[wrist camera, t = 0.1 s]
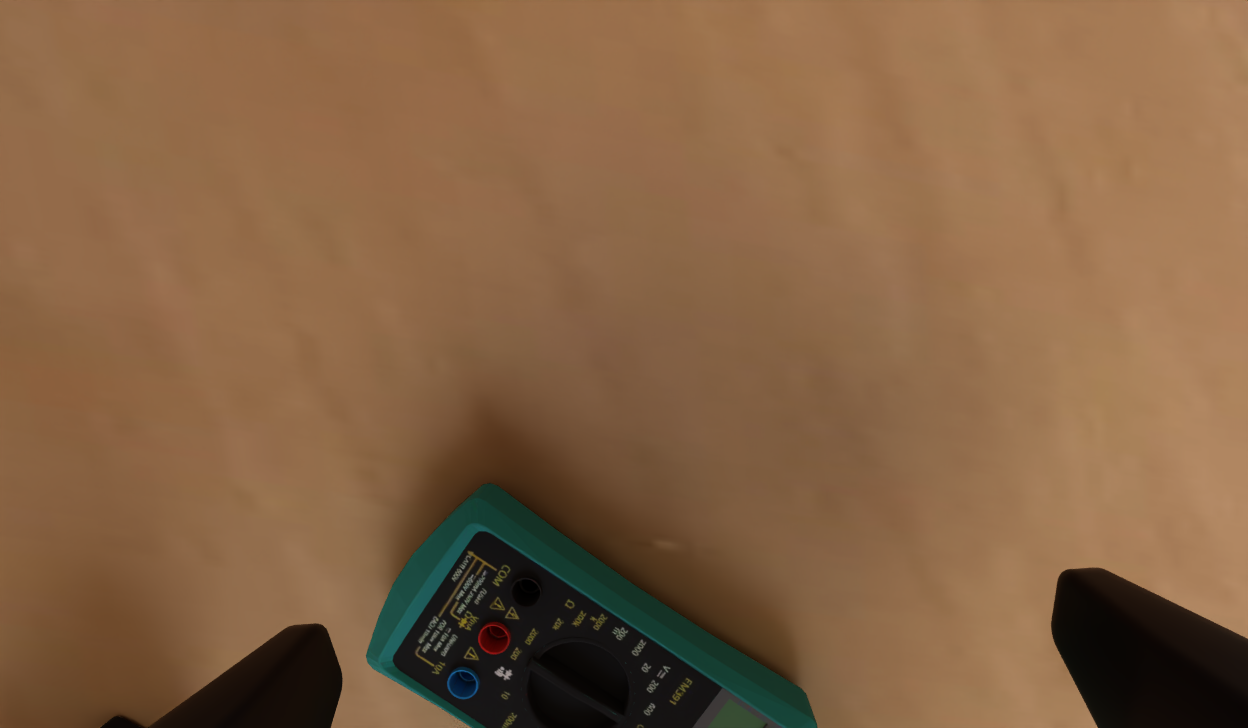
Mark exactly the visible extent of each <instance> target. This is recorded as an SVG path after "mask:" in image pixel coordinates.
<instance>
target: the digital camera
mask: <svg viewBox="0 0 1248 728" xmlns="http://www.w3.org/2000/svg"><path fill="white" fill-rule="evenodd" d="M100 728H141V727H139V726H137V725H135V724H133V723H131V722H129V721H128V720H126V719H124V718H122V717H119V716H116V717H113V718H112V719H110V720H109V721H108V722H107V723H105V724H104V725H103V726H101V727H100Z"/></svg>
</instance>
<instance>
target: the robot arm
mask: <svg viewBox="0 0 1248 728" xmlns="http://www.w3.org/2000/svg"><path fill="white" fill-rule="evenodd" d="M1051 629H1052V635H1053V639H1054V642H1055V645H1056V647H1057V649H1058V651H1059V653H1060V655H1061V657H1062V659H1063V661H1064V663H1065V665H1066V667H1067V668H1068V670H1069V672H1070V674H1071V676H1072V678H1073V680H1074V682H1075V684H1076V686H1077V688H1078V690H1079V692H1080V694H1081V696H1082V698H1083V700H1084V702H1085V703H1086V705H1087V707H1088V709H1089V711H1090V713H1091V715H1092V717H1093V719H1094V721H1095V723H1096V725H1097V727H1098V728H1248V639H1247V638H1245V637H1243V636H1241V635H1239V634H1237V633H1235V632H1233V631H1231V630H1229V629H1227V628H1224V627H1222V626H1220V625H1218V624H1216V623H1214V622H1212V621H1210V620H1208V619H1206V618H1204V617H1202V616H1200V615H1198V614H1196V613H1194V612H1192V611H1189V610H1187V609H1185V608H1183V607H1181V606H1179V605H1177V604H1175V603H1173V602H1171V601H1169V600H1167V599H1165V598H1163V597H1161V596H1159V595H1156V594H1154V593H1152V592H1150V591H1148V590H1146V589H1144V588H1142V587H1140V586H1138V585H1136V584H1134V583H1132V582H1130V581H1128V580H1126V579H1124V578H1121V577H1119V576H1117V575H1115V574H1113V573H1111V572H1109V571H1107V570H1105V569H1102V568H1080V569H1068V570H1065V571H1063V572H1062V573H1061V574H1060V576H1059V578H1058V581H1057V588H1056V595H1055V601H1054V608H1053V615H1052V621H1051ZM341 690H342V672H341V668H340V665H339V662H338V660H337V657H336V654H335V651H334V648H333V645H332V642H331V639H330V636H329V634H328V631H327V629H326V628H325V627H324V626H323V625H321V624H302V625H293V626H289V627H287V628H285V629H284V630H282V631H281V632H280V633H278V634H277V635H275V636H274V637H273V638H271V639H270V640H269V641H267V642H266V643H264V644H263V645H262V646H260V647H259V648H257V649H256V650H255V651H253V652H252V653H251V654H249V655H248V656H246V657H245V658H244V659H242V660H241V661H240V662H238V663H237V664H235V665H234V666H233V667H231V668H230V669H228V670H227V671H226V672H224V673H223V674H222V675H220V676H219V677H217V678H216V679H215V680H213V681H212V682H210V683H209V684H208V685H206V686H205V687H204V688H202V689H201V690H199V691H198V692H197V693H195V694H194V695H192V696H191V697H190V698H188V699H187V700H186V701H184V702H183V703H181V704H180V705H179V706H177V707H176V708H174V709H173V710H172V711H170V712H169V713H168V714H166V715H165V716H163V717H162V718H161V719H159V720H158V721H156V722H155V723H154V724H152V725H151V726H150V727H148V728H331V724H332V721H333V718H334V714H335V711H336V708H337V704H338V701H339V698H340V694H341Z"/></svg>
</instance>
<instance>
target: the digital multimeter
mask: <svg viewBox="0 0 1248 728" xmlns="http://www.w3.org/2000/svg"><path fill="white" fill-rule="evenodd" d="M366 658H367V662H368V664H369V665H370V666H371V667H372V668H373V669H374V670H376V671H378V672H380V673H381V674H383V675H385V676H387V677H388V678H390V679H392V680H393V681H395V682H397V683H399V684H400V685H402V686H404V687H406V688H407V689H409V690H411V691H412V692H414V693H416V694H418V695H419V696H421V697H423V698H424V699H426V700H428V701H430V702H431V703H433V704H435V705H437V706H438V707H440V708H442V709H443V710H445V711H446V712H448V713H449V714H451V715H453V716H454V717H456V718H457V719H459V720H461V721H462V722H464V723H465V724H467V725H468V726H470V727H472V728H817V723H816V720H815V718H814V715H813V712H812V709H811V706H810V703H809V701H808V698H807V695H806V693H805V692H804V691H803V690H802V689H801V688H799V687H798V686H796V685H794V684H793V683H791V682H789V681H788V680H786V679H784V678H783V677H781V676H779V675H778V674H776V673H774V672H773V671H771V670H769V669H768V668H766V667H764V666H763V665H761V664H759V663H758V662H756V661H754V660H753V659H751V658H749V657H748V656H746V655H744V654H743V653H741V652H739V651H738V650H736V649H734V648H733V647H731V646H729V645H728V644H726V643H724V642H723V641H721V640H719V639H718V638H716V637H714V636H713V635H711V634H709V633H708V632H706V631H705V630H703V629H702V628H700V627H698V626H697V625H695V624H694V623H692V622H691V621H689V620H688V619H686V618H685V617H683V616H682V615H680V614H678V613H677V612H675V611H674V610H672V609H671V608H669V607H668V606H666V605H665V604H663V603H661V602H660V601H658V600H657V599H655V598H654V597H652V596H651V595H649V594H648V593H646V592H644V591H643V590H641V589H640V588H638V587H637V586H635V585H634V584H632V583H631V582H629V581H628V580H626V579H625V578H624V577H622V576H621V575H619V574H618V573H617V572H615V571H614V570H612V569H611V568H610V567H608V566H607V565H605V564H604V563H603V562H601V561H600V560H598V559H597V558H595V557H594V556H593V555H591V554H590V553H588V552H587V551H586V550H584V549H583V548H581V547H580V546H579V545H577V544H576V543H574V542H573V541H572V540H570V539H569V538H567V537H566V536H564V535H563V534H562V533H560V532H559V531H557V530H556V529H555V528H553V527H552V526H551V525H549V524H548V523H547V522H545V521H544V520H543V519H541V518H540V517H539V516H537V515H536V514H535V513H533V512H532V511H531V510H529V509H528V508H527V507H525V506H524V505H523V504H521V503H520V502H519V501H517V500H516V499H515V498H513V497H512V496H511V495H509V494H508V493H507V492H505V491H504V490H503V489H501V488H500V487H499V486H497V485H494V484H491V483H489V484H483V485H482V486H481V487H480V488H478V489H477V490H476V491H475V492H474V493H473V494H472V495H471V496H470V497H468V498H467V499H466V500H465V501H464V502H463V503H462V504H461V505H460V506H458V507H457V508H456V509H455V510H454V511H453V512H452V513H451V514H450V515H449V516H448V517H447V518H446V519H445V520H444V521H443V522H442V524H441V525H440V526H439V527H438V528H437V529H436V530H435V531H434V532H433V533H432V534H431V535H430V536H429V538H428V539H427V540H426V541H425V542H424V543H423V544H422V545H421V546H420V547H419V548H418V549H417V550H416V552H415V553H414V554H413V555H412V556H411V558H410V559H409V561H408V562H407V564H406V565H405V567H404V568H403V570H402V571H401V573H400V574H399V576H398V577H397V579H396V580H395V582H394V584H393V586H392V588H391V590H390V592H389V595H388V597H387V599H386V601H385V604H384V606H383V608H382V611H381V613H380V615H379V618H378V621H377V624H376V627H375V630H374V633H373V636H372V639H371V642H370V645H369V648H368V651H367V654H366Z"/></svg>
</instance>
